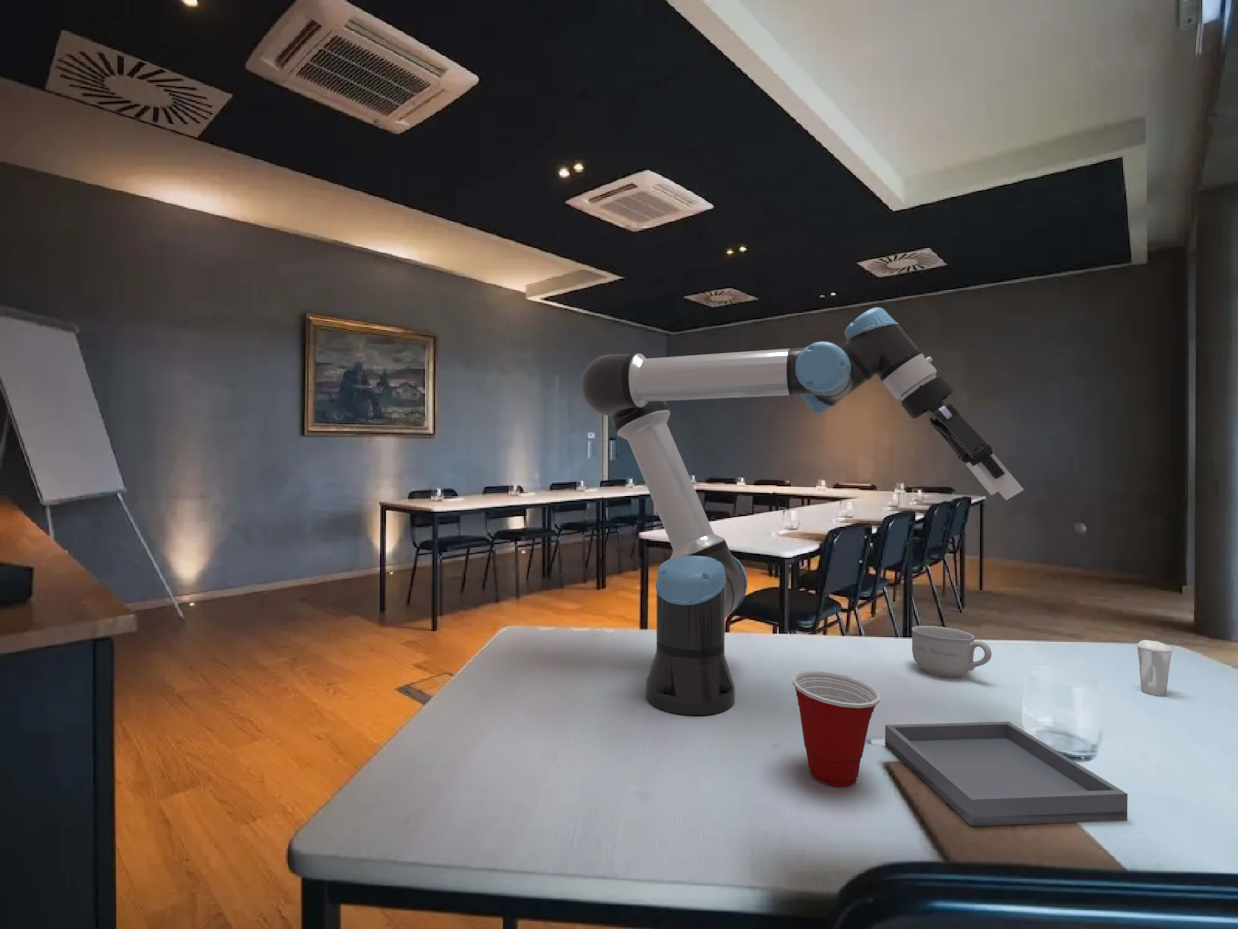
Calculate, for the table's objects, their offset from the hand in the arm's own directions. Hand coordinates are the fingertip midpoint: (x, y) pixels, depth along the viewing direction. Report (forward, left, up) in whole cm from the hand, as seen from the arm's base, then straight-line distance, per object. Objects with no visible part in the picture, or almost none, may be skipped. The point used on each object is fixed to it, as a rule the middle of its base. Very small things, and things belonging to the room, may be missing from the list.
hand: (1006, 492), depth 93 cm
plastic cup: (-34, -15, -36) cm, 52 cm away
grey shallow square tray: (-14, -17, -36) cm, 42 cm away
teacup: (+4, +19, -36) cm, 41 cm away
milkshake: (+35, +8, -36) cm, 51 cm away
